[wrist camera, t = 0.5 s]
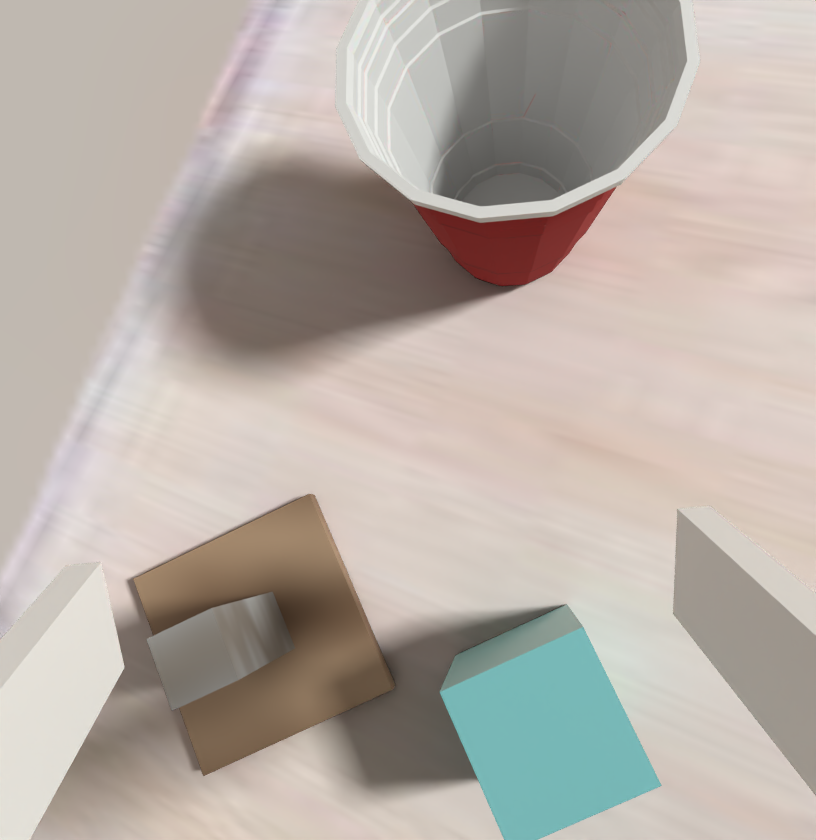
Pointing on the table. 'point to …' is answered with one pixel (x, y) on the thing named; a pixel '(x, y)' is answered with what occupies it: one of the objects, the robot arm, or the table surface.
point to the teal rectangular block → (544, 727)
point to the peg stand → (260, 635)
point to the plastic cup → (512, 114)
